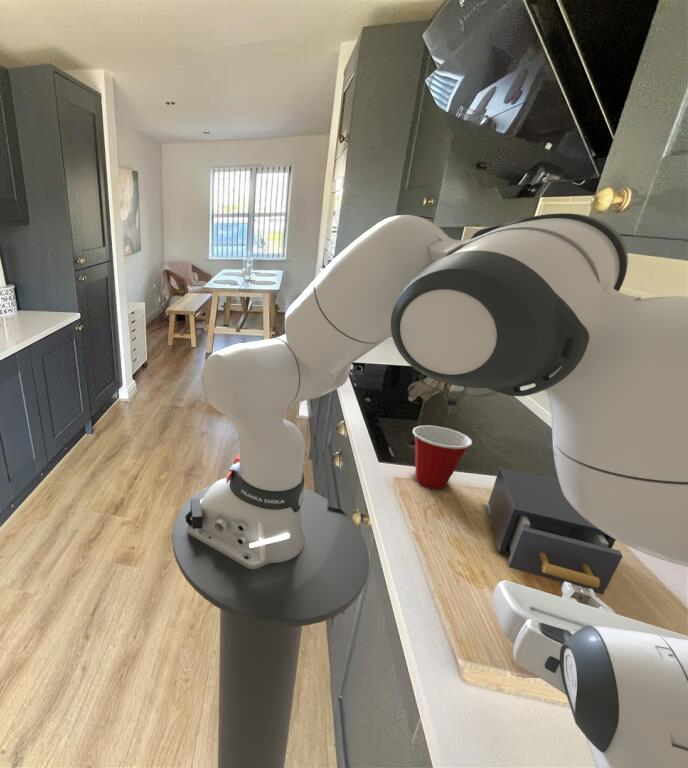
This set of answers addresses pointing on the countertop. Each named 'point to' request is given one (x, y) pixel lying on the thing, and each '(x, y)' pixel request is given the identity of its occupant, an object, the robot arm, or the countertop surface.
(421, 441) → the plastic cup
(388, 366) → the countertop surface
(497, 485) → the cabinet
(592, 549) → the drawer
